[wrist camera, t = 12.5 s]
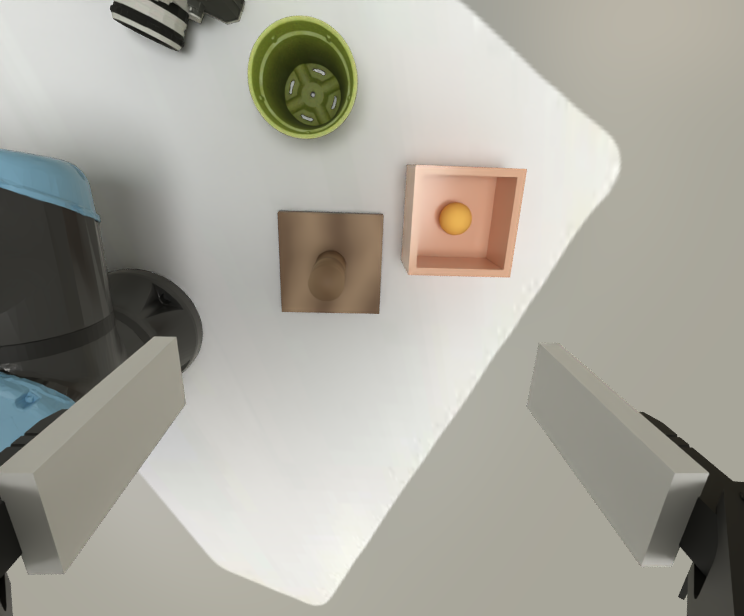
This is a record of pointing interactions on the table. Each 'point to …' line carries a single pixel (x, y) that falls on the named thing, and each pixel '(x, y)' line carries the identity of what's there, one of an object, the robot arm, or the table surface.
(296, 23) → the plant pot
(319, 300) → the lid
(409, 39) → the table surface
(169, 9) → the camera
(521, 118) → the table surface
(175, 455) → the table surface
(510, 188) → the pink open box
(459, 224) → the clementine
